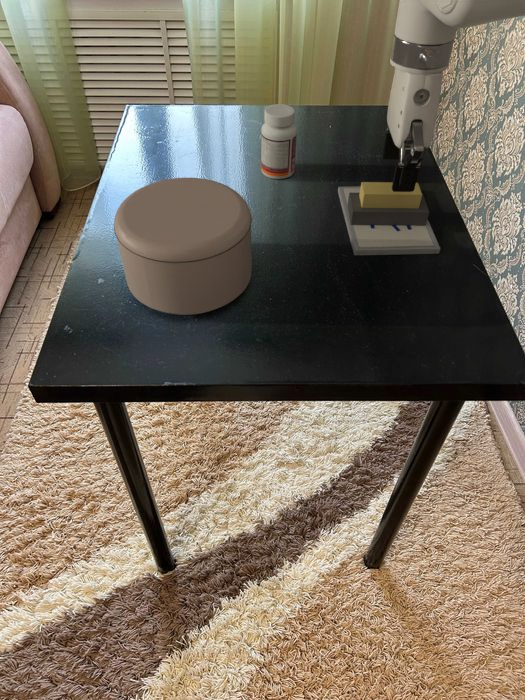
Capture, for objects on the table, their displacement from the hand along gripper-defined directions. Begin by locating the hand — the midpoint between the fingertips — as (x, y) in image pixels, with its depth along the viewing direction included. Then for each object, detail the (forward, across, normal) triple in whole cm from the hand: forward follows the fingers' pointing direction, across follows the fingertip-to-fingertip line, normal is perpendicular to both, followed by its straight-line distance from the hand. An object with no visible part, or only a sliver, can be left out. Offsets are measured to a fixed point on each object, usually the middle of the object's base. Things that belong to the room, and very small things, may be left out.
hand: (397, 173), depth 82 cm
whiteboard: (+9, +1, 0) cm, 9 cm away
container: (+9, -15, +31) cm, 35 cm away
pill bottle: (+8, +16, +18) cm, 25 cm away
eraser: (+8, 0, 0) cm, 8 cm away
